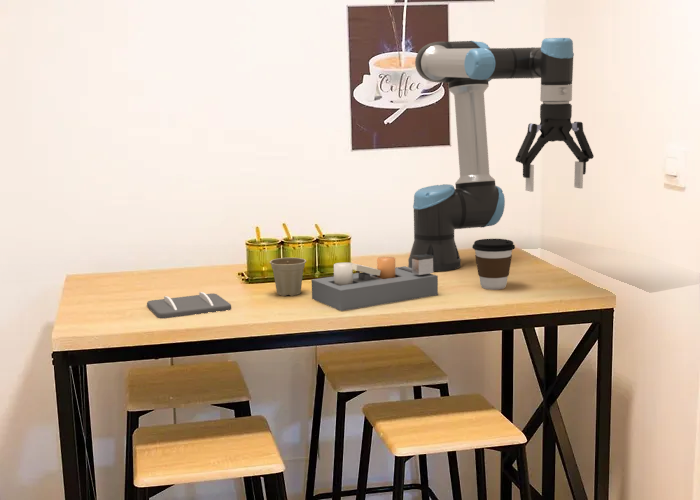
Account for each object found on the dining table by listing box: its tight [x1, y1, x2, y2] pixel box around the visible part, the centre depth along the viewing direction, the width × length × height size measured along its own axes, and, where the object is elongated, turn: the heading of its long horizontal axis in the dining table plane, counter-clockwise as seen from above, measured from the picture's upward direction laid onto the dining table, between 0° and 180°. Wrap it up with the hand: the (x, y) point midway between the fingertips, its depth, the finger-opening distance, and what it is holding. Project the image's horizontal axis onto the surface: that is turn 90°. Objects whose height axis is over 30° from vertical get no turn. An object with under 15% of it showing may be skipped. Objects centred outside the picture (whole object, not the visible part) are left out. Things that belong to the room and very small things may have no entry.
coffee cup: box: [472, 238, 516, 291], centre depth 239 cm, size 11×11×12 cm
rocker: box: [348, 262, 381, 276], centre depth 229 cm, size 4×7×1 cm, turn 120°
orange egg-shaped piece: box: [376, 256, 396, 279], centre depth 232 cm, size 5×5×6 cm
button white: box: [333, 262, 354, 286], centre depth 226 cm, size 5×5×6 cm
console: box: [311, 266, 439, 312], centre depth 231 cm, size 15×28×6 cm, turn 120°
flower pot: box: [269, 257, 307, 297], centre depth 237 cm, size 9×9×9 cm
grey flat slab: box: [146, 291, 232, 319], centre depth 226 cm, size 18×3×15 cm
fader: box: [411, 254, 434, 275], centre depth 232 cm, size 3×5×4 cm
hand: (554, 189), depth 228 cm, fingers open, 13 cm apart
